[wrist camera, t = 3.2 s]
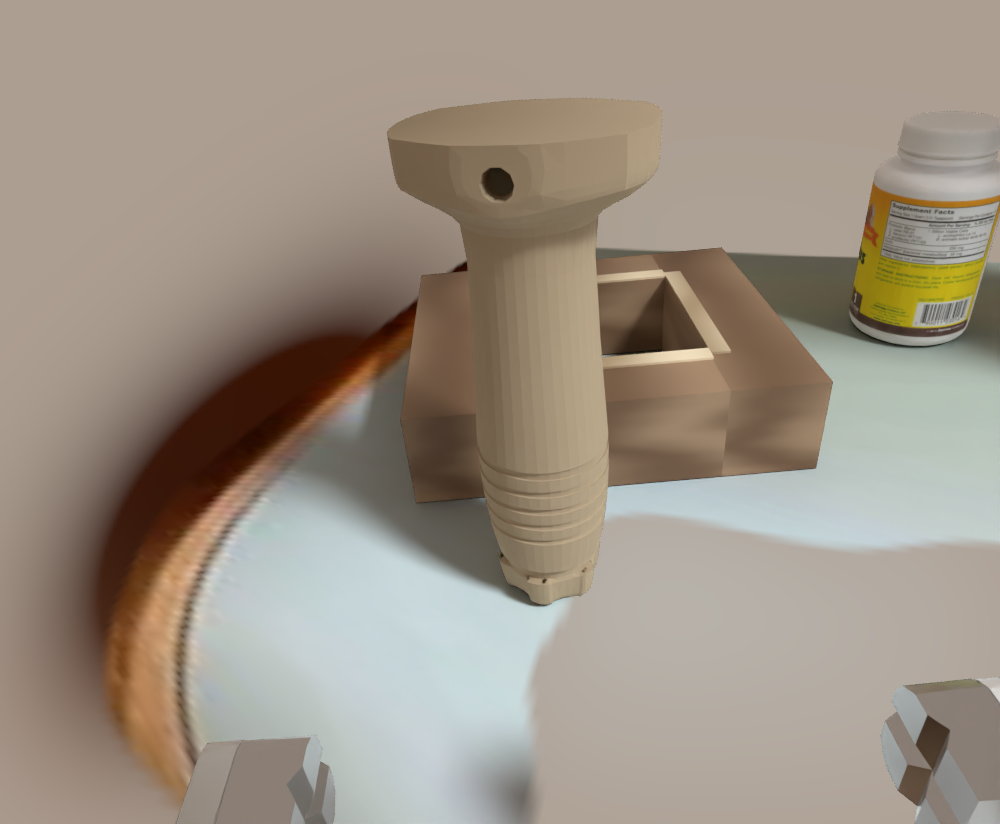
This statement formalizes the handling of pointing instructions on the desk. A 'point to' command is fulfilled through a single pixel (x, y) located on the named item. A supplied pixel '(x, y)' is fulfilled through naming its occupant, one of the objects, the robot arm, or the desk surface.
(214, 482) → the desk surface
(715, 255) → the square wooden frame
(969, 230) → the supplement bottle
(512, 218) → the handle
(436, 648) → the desk surface
